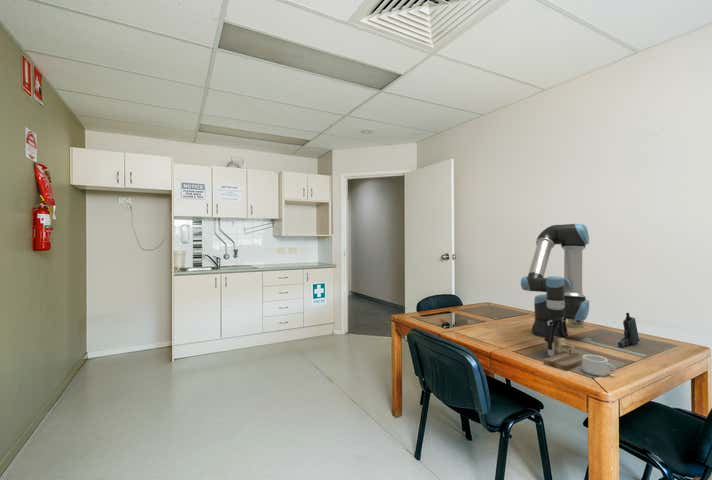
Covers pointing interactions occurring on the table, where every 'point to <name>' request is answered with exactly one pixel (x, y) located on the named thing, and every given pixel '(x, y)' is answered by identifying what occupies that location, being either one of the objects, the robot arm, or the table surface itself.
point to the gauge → (561, 345)
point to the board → (564, 360)
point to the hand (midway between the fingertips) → (557, 353)
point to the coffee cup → (575, 323)
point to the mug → (596, 365)
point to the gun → (629, 332)
